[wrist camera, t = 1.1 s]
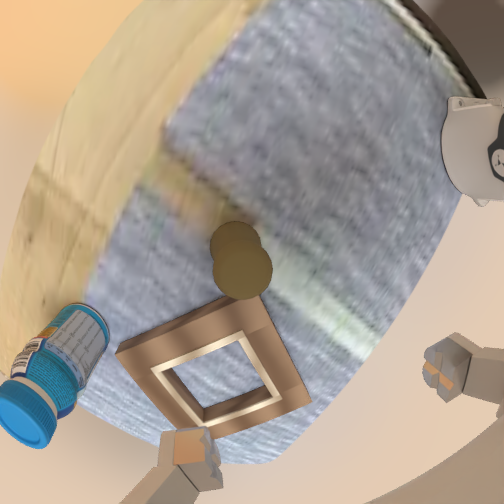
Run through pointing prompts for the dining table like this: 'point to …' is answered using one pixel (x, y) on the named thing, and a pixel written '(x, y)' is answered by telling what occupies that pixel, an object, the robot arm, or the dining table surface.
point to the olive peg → (240, 261)
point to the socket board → (204, 341)
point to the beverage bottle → (52, 374)
